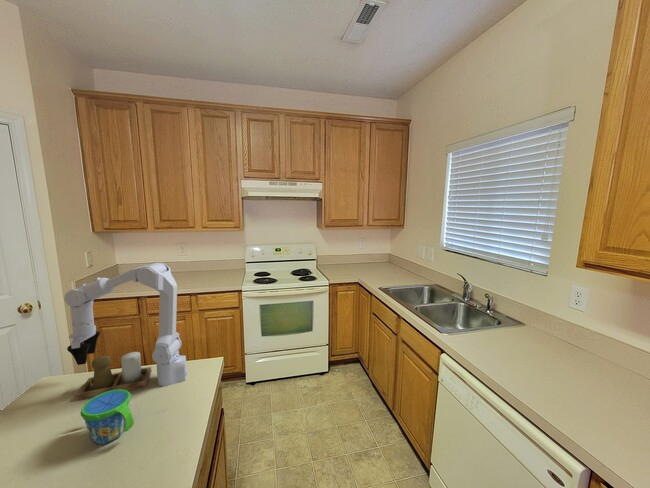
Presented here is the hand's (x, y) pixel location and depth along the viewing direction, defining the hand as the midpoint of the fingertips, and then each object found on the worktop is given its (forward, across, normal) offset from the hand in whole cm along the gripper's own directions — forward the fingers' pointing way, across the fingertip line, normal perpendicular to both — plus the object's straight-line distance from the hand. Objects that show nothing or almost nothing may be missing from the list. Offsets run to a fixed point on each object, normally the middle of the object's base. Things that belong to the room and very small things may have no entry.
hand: (86, 358), depth 96 cm
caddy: (+10, +4, +10) cm, 15 cm away
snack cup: (+11, +29, +14) cm, 34 cm away
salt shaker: (+10, +4, +14) cm, 18 cm away
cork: (+10, +4, +6) cm, 12 cm away
